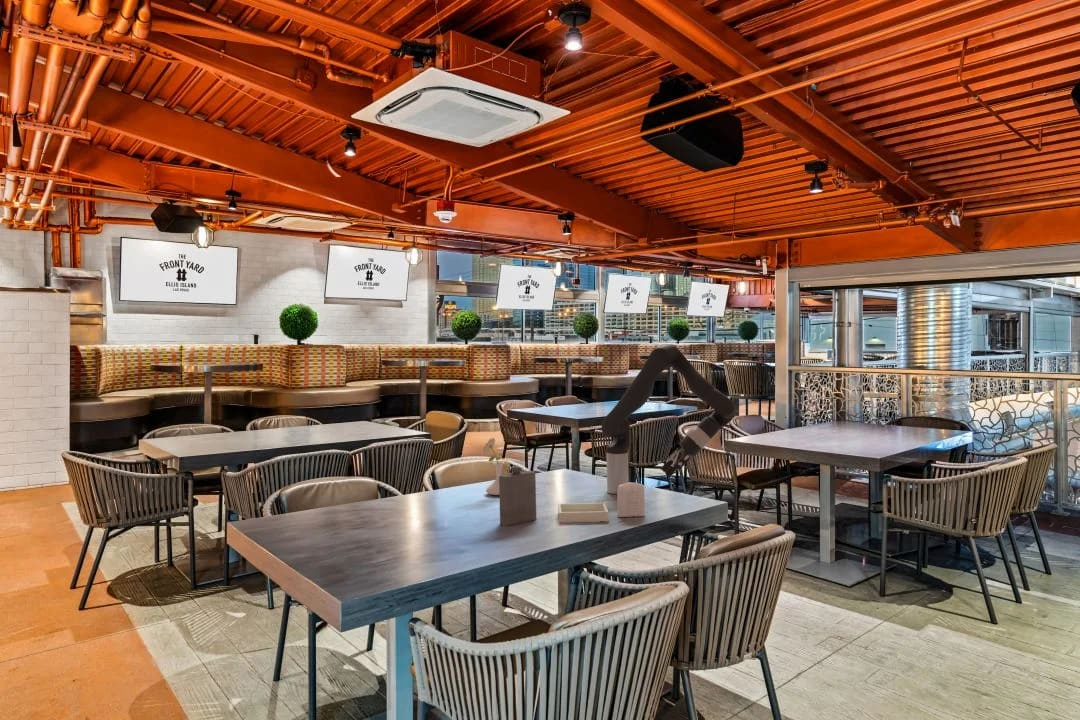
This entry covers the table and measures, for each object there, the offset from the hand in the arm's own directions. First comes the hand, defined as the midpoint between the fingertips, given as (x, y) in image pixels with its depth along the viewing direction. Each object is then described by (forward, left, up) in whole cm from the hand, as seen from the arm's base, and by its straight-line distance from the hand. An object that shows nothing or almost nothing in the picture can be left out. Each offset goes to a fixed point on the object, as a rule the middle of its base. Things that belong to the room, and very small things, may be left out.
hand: (664, 472), depth 243 cm
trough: (0, -31, -16) cm, 35 cm away
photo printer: (0, -13, -16) cm, 20 cm away
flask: (+4, -55, -16) cm, 57 cm away
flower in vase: (-41, -65, -16) cm, 78 cm away
